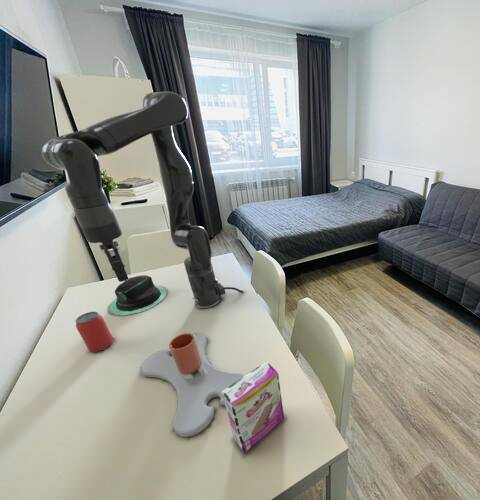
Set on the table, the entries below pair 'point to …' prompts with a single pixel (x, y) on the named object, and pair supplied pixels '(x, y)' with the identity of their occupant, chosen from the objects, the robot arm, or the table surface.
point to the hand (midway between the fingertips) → (121, 274)
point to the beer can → (94, 331)
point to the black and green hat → (136, 295)
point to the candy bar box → (254, 405)
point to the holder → (190, 387)
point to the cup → (186, 353)
